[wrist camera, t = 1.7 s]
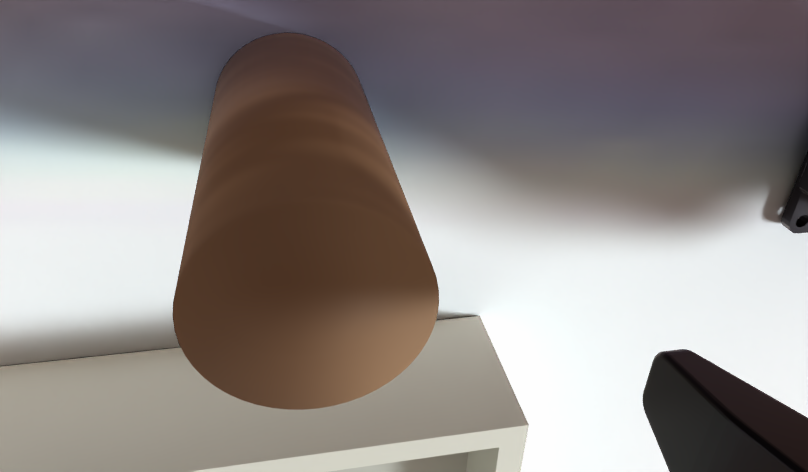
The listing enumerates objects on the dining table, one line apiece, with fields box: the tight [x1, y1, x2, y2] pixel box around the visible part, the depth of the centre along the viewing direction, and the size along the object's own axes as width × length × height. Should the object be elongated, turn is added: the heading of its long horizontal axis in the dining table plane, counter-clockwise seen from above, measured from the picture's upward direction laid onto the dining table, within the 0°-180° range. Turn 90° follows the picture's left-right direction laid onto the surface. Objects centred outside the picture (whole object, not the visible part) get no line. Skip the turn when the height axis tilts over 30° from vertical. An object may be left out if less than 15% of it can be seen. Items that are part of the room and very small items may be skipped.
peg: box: [173, 33, 439, 410], centre depth 13 cm, size 4×4×9 cm
